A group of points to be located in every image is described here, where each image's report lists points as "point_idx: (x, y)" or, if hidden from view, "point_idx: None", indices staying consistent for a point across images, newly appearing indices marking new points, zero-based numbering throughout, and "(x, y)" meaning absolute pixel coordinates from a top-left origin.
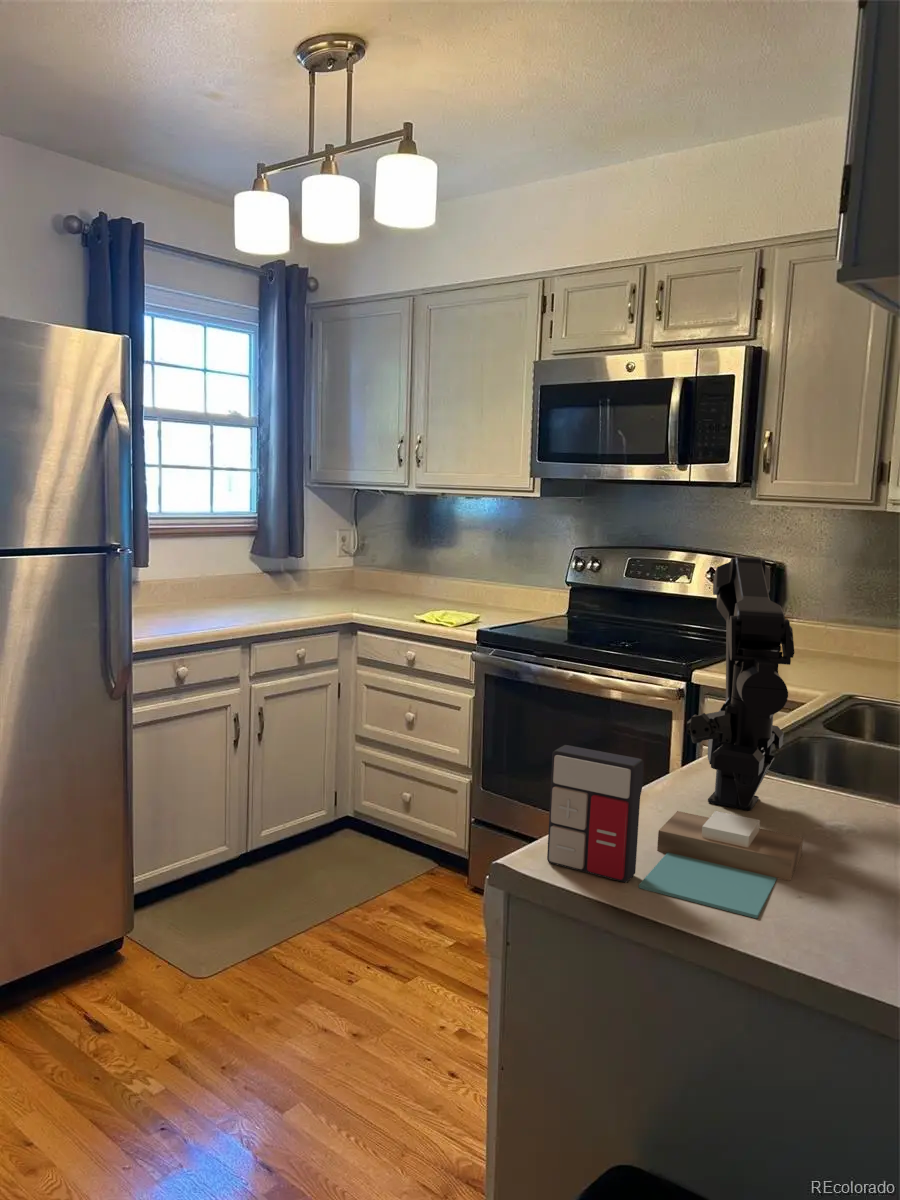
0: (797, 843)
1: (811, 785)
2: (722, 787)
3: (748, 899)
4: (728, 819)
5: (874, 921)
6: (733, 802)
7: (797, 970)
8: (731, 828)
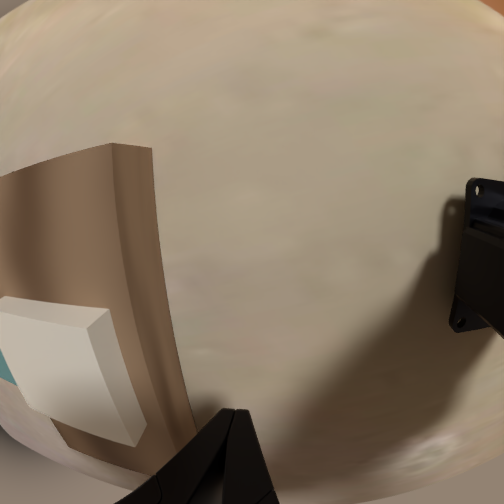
0: (147, 472)
1: None
2: (498, 254)
3: (2, 366)
4: (60, 373)
5: (88, 470)
6: (460, 285)
7: None
8: (27, 377)
